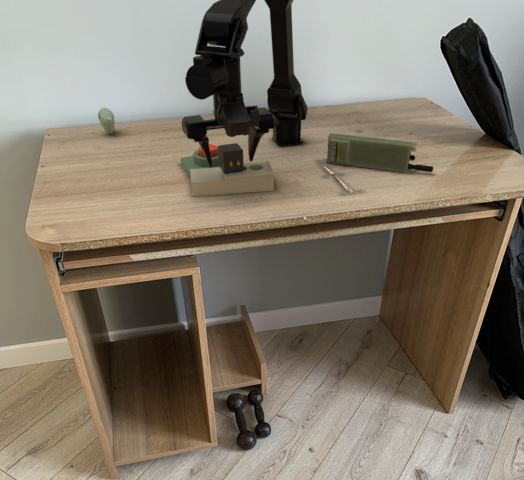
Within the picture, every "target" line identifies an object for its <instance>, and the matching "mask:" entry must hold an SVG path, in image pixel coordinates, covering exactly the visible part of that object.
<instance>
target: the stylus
mask: <svg viewBox="0 0 524 480" xmlns="http://www.w3.org/2000/svg"><path fill="white" fill-rule="evenodd" d="M323 168H324V169H325V170H326V171H327V172H328V173H329V174H330V175H334V177H335V178H336V179H337V181H338V182H339V183H340V184H341V186H342V187H343V188H344V189H345V190H346V191H347V193H348V194H350V193H351V194H353V191H354V190H353V189H352V188H350V187H349V186H348V185H347V184H346V183H344V182H343V181H342V180H341V179H340V178H339V177H338V176H337V175H335V173H336V172H333V170H331V169H329V168H328V167H327V166H326V165H323Z"/></svg>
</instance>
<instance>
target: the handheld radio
mask: <svg viewBox="0 0 524 480" xmlns="http://www.w3.org/2000/svg"><path fill="white" fill-rule="evenodd" d="M417 145H418V142H416V141H407V140H399V139H390V138H389V139H388V138H380V137H371V136H361V135H351V134H344V133H343V134H342V133H333V132H330V133H329V134H328V139H327V153H326V154H327V155H326V163H327V164H333V165H340V166H349V167H356V168H364V169H372V170H380V171H388V172H396V173H404V174H405V173H408V174H411V173H412V172H413V170H414V171H417V172H418V171H419V172H427V173H432V172H433V171H434V166H433V165H425V164H424V165H423V164H418V163H417V164H413V163H410V162H411V161H412V162H413V161H415V160H416V155H414V154H412V152H416V151H417V148H416V146H417Z"/></svg>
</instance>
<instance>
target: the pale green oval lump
mask: <svg viewBox="0 0 524 480" xmlns="http://www.w3.org/2000/svg"><path fill="white" fill-rule="evenodd" d="M97 117H98V120H99V123H100V126H101V127H102V128H103V130H104V131H105V132H106V133H108V134H111V135H112V134H113V133H114V131H115V126H116V125H115V123H116V122H115V115H114V112H113V111H112V110H110V109H109V108H107V107H101V108H100V109H99V111H98V114H97Z"/></svg>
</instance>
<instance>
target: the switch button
mask: <svg viewBox="0 0 524 480" xmlns="http://www.w3.org/2000/svg"><path fill="white" fill-rule="evenodd" d="M209 149H210V154H211V157H215V156H218V145H216V144H212V143H211V144H210V143H209ZM198 150H199V155H200V156H201V157H205V155H204V153H203V151H202V148H201V146H200V145H199V147H198Z"/></svg>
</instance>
